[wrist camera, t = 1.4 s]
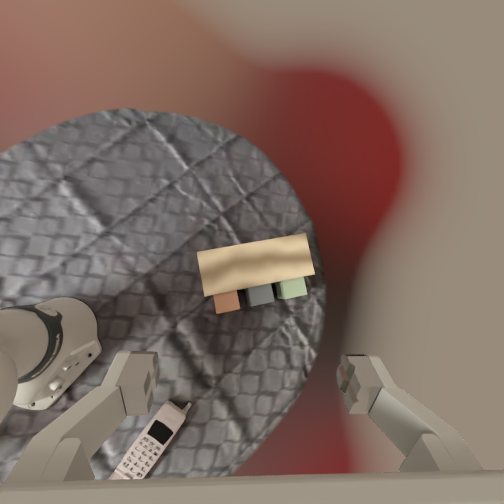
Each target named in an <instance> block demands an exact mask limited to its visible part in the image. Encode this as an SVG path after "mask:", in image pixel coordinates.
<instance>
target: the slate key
mask: <svg viewBox="0 0 504 504" xmlns="http://www.w3.org/2000/svg"><path fill="white" fill-rule="evenodd" d="M245 293H246V298H247V303H248V305H249V306H256V305H261V304H265V303H270V302H275V301H274V296H273V291H272V287H271V283H269V284H264V285H259V286H254V287H249V288H245Z"/></svg>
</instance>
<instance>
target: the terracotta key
mask: <svg viewBox="0 0 504 504" xmlns="http://www.w3.org/2000/svg"><path fill="white" fill-rule="evenodd" d="M213 298H214V303H215V309H216V314H219V313H224V312H228V311H233V310H238V309H240V305H239V300H238V295H237V290H234V291H229V292H225V293H220V294H215V295H213Z"/></svg>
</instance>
